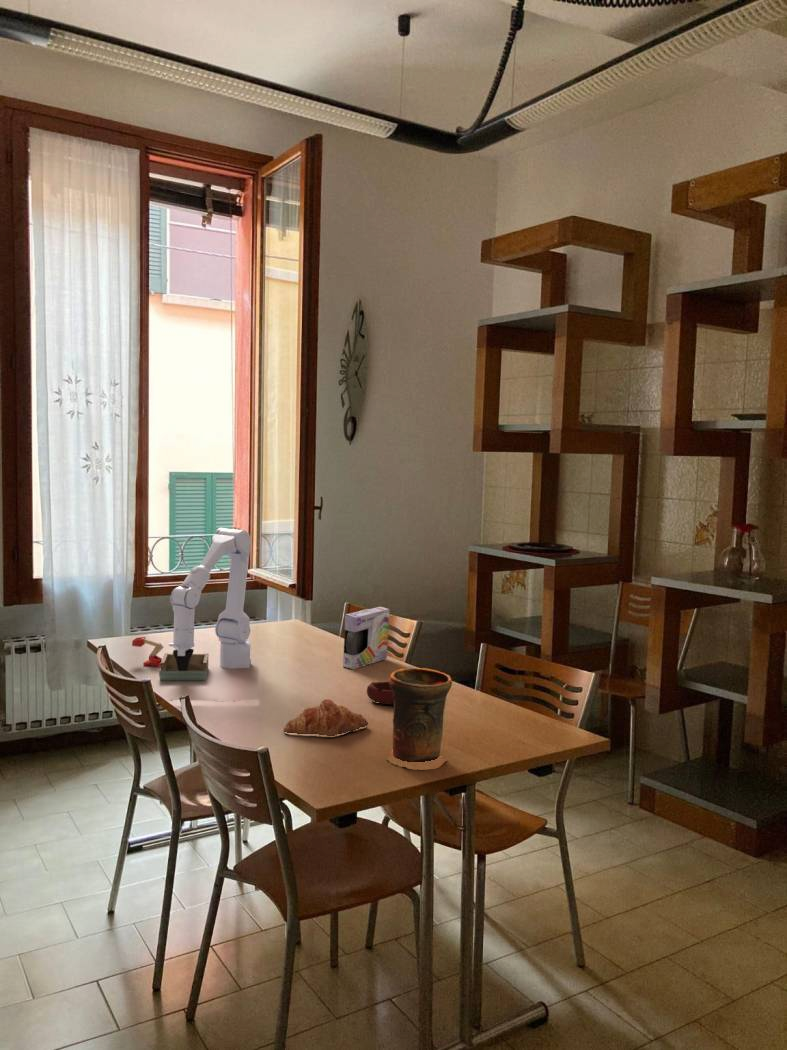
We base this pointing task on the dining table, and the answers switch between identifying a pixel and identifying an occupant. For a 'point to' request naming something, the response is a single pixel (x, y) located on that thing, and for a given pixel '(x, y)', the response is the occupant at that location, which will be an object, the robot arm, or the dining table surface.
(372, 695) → the ashtray
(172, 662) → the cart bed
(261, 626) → the dining table surface
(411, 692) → the vessel
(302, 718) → the pastry
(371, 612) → the cake pan box
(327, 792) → the dining table surface
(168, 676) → the panel
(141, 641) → the red desk lamp
